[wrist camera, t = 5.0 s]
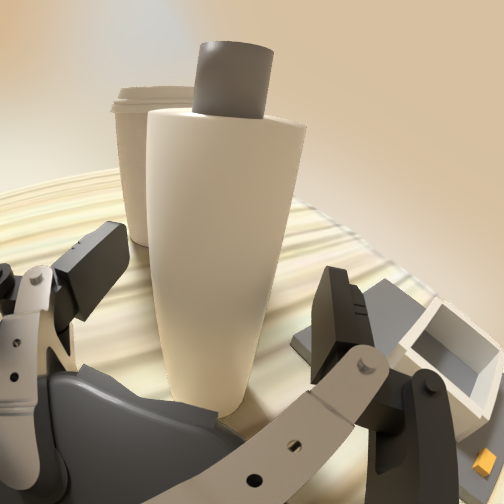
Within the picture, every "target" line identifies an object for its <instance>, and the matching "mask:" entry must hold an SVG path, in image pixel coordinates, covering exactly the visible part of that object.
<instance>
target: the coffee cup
mask: <svg viewBox="0 0 504 504" xmlns="http://www.w3.org/2000/svg"><path fill="white" fill-rule="evenodd" d="M193 95H194V87H184V86H147V87H129V88H121V90H120V93H119V96H118V99H117V100H115V101H114V104H113V105H112V108H111V112H113V113H115V119H116V133H117V145H118V155H119V166H120V174H121V182H122V190H123V197H124V204H125V210H126V216H127V222H128V228H129V233H130V237H131V239H132V240H133V241H134V242H135V243H137V244H139V245H142V246H145V247H149V244H148V228H147V206H146V140H147V119H148V112H149V111H153V110H158V109H169V108H192V104H193Z"/></svg>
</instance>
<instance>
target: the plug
mask: <svg viewBox="0 0 504 504" xmlns="http://www.w3.org/2000/svg"><path fill="white" fill-rule="evenodd" d="M273 55H274V52H273V51H272V50H270V49H268V48H265V47H262V46H258V45H254V44H249V43H242V42H232V41H213V42H206V43H202V44H201V45H200V51H199V57H198V64H197V72H196V79H195V87H194V95H193V104H192V108H169V109H158V110H153V111H149V112H148V119H147V140H146V206H147V228H148V244H149V257H150V268H151V278H152V287H153V295H154V303H155V310H156V317H157V324H158V330H159V336H160V342H161V348H162V353H163V359H164V364H165V369H166V374H167V378H168V383H169V388H170V392H171V395H172V398H173V400H174V401H176V402H183V403H186V404H190V405H193V406H197V407H200V408H204V409H208V410H212V411H216V412H218V419H219V418H222V417H225V416H227V415H229V414H231V413H232V412H234V411H235V410H236V409H237V408H238V407H239V406H240V404H241V402H242V400H243V398H244V394H245V391H246V387H247V383H248V380H249V376H250V372H251V368H252V365H253V361H254V357H255V353H256V349H257V345H258V341H259V338H260V334H261V330H262V326H263V322H264V318H265V314H266V310H267V306H268V301H269V297H270V293H271V289H272V285H273V281H274V277H275V272H276V268H277V264H278V259H279V255H280V251H281V246H282V242H283V238H284V233H285V229H286V224H287V220H288V215H289V210H290V206H291V201H292V196H293V192H294V187H295V182H296V177H297V172H298V167H299V163H300V157H301V153H302V148H303V143H304V137H305V132H306V126H305V125H303V124H300V123H298V122H294V121H291V120H287V119H283V118H279V117H274V116H269V115H264V111H265V104H266V98H267V91H268V86H269V80H270V72H271V67H272V61H273Z"/></svg>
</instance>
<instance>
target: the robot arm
mask: <svg viewBox="0 0 504 504" xmlns="http://www.w3.org/2000/svg"><path fill="white" fill-rule="evenodd" d="M129 259H130V255H129V247H128V239H127V229H126V226H125V225H124V224H122V223H117V222H112V221H107V222H105V223H104V224H103V225H102V226H100V227H99V228H98V229H97V230H96V231H94V232H92V233H89V234H87V235H85V236H84V237H83V238H82V239H81V240H80V241H78V243H76V244H75V245H74V246H73V247H72V249H69V250H68V251H67V252H66V253H65V254H64V255H62V256H61V257H60V258H59V259H58V260H57V261H56V262H55V263H54V264H53V265H52V266H51V267H48V266H44V265H41V266H36V267H34V268H32V269H30V270H28V271H27V272H26V273H25V274H24V275H23V276H14V274H13V272H12V269H11V267H10V265H9V264H6V263H2V264H0V313H1V314H2V316H3V319H2V320H1V322H0V504H288V503H287V502H286V501H287V500H288V499H289V498H290V497H291V496H293V495H294V494H295V493H296V492H297V491H298V490H299V489H300V488H301V487H302V486H303V485H304V484H305V483H306V482H307V481H308V480H309V479H310V478H311V477H312V476H313V475H314V474H315V473H316V472H317V471H318V470H319V469H320V468H321V467H322V466H323V465H324V464H325V463H326V461H327V460H328V459H329V458H330V457H331V456H332V455H333V454H334V453H335V451H336V450H337V449H338V448H339V447H340V446H341V444H342V443H343V442H344V441H345V440H346V438H347V437H348V436H349V435H350V433H351V432H352V430H353V429H354V427H355V426H354V424H356V425H358V426H361V427H364V428H367V429H369V439H368V467H367V482H366V494H365V503H364V504H459V476H458V461H457V450H456V441H455V433H454V426H453V420H452V414H451V408H450V403H449V398H448V393H447V389H446V385H445V383H444V381H443V379H442V378H441V376H440V375H439V374H438V373H436V372H435V371H433V370H430V369H420V370H418V371H416V372H415V374H414V375H413V376H409V375H406V374H404V373H401V372H398V371H396V370H393V369H391V368H390V367H389V363H388V360H387V359H386V357H385V356H384V354H383V353H382V352H380V351H379V350H378V349H376V348H375V345H374V340H373V335H372V330H371V325H370V320H369V317H368V311H367V308H366V303H365V299H364V295H363V294H362V292H361V291H360V290H359V288H358V287H357V285H352V284H349V279H348V275H347V271H346V270H345V269H340V268H336V267H331V266H326V267H325V269H324V272H323V275H322V278H321V280H320V283H319V286H318V289H317V291H316V294H315V297H314V300H313V304H312V311H311V384H314V385H316V386H315V387H314V388H313V389H312V390H310V391H309V390H308V391H306V392H305V393H303V394H302V395H301V396H300V397H299V398H298V399H297V400H296V401H294V402H293V403H292V404H291V405H290V406H289V407H288V408H287V409H285V410H284V411H283V412H282V413H281V414H280V415H279V416H277V417H276V418H275V419H274V420H273V421H271V422H270V423H269V424H268V425H267V426H265V427H264V428H263V429H262V430H260V431H259V432H258V433H257V434H255V435H254V436H253V437H252V438H250V439H249V440H248V441H246V440H245V439H244V438H243V437H242V436H240V435H239V434H238V433H237V432H235V431H234V430H233V429H231V428H230V427H228V426H226V425H225V424H223V423H221V422H219V421H218V412H216V411H212V410H208V409H204V408H200V407H197V406H193V405H190V404H186V403H183V402H176V401H164V400H154V399H146V398H141V397H139V396H137V395H135V394H134V393H133V392H131V391H130V390H128V389H127V388H126V387H124V386H123V385H122V384H120V383H119V382H118V381H116V380H115V379H114V378H112V377H111V376H109V375H107V374H104V373H102V372H100V371H98V370H96V369H93V368H91V367H89V366H87V365H85V364H83V365H82V367H81V369H80V370H79V372H78V371H77V368H76V363H75V353H74V336H73V324H72V322H71V321H72V319H73V318H74V317H75V318H77V319H79V320H81V321H84V322H85V321H86V319H87V318H88V317H89V315H90V314H91V313H92V312H93V310H94V309H95V308H96V306H97V305H98V304H99V303H100V301H101V300H102V299H103V297H104V296H105V295H106V294H107V292H108V291H109V290H110V289H111V287H112V286H113V285H114V284H115V283H116V281H117V280H118V279H119V278H120V277H121V275H122V274H123V273H124V272H125V271H126V269H127V267H128V264H129Z"/></svg>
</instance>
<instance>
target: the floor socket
mask: <svg viewBox="0 0 504 504" xmlns="http://www.w3.org/2000/svg"><path fill="white" fill-rule="evenodd" d="M363 295H364V299H365V303H366V308H367V311H368V317H369V320H370V325H371V330H372V335H373V340H374V345H375V348H376V349H378V350H379V351H380V352H382V353H383V354H384V356H385V357H386V359H387V360H388V363H389V367H390V368H391V369H393V370H396V371H398V372H401V373H404V374H406V375H409V376H413V375H414V374H415V372H416V371H418V370H420V369H430V370H433V371H435V372H436V373H438V374H439V375H440V376H441V378H442V379H443V381H444V383H445V385H446V389H447V393H448V398H449V403H450V408H451V414H452V420H453V426H454V433H455V441H456V450H457V461H458V476H459V498H461V499H462V500H463V501H465V502H466V503H467V504H486V503H487V501H488V499H489V497H490V494H491V492H492V490H493V488H494V486H495V483H496V481H497V478H498V476H499V473H500V471H501V468H502V465H503V463H504V373H503V367H504V351H503V350H502V349H500V348H501V346H500V345H499V344H498V343H497V342H496V341H495V340H494V339H492V338H491V337H490V336H489V335H488V334H486V333H485V332H484V331H483V330H482V329H481V328H479V327H478V326H477V325H476V324H474V323H473V322H472V321H471V320H470V319H468V318H467V317H466V316H465V315H463V314H462V313H461V312H459V311H458V310H457V309H456V308H454V307H453V306H452V305H450V304H449V303H448V302H447V301H445V300H444V301H442V300H440V299H439V298H438V297H435V299H434V300H433V301H432V303H431V304H430V305H429V307H428V308H427V309H426V308H424V307H423V306H422V305H420V304H419V303H418V302H417V301H415V300H414V299H413V298H411V297H410V296H409V295H407V294H406V293H405V292H403V291H402V290H400V289H399V288H398V287H396V286H395V285H394V284H392V283H391V282H390V281H388V280H387V279H383V280H382V281H380V282H379V283H377V284H376V285H374V286H373V287H372V288H370V289H369V290H367V291H366V292H364V293H363ZM290 345H291V346H292V347H293V348H294V349H295V350H296V351H297V352H298V353H299V354H300V355H301V356H302V357H303V358H304V359H305V360H306V361H307V362H308V363H309V364H310V365H311V326H309V327H307V328H306V329H304V330H302V331H300V332H299V333H297V334H295V335H293V338H292V340H291V343H290Z"/></svg>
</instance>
